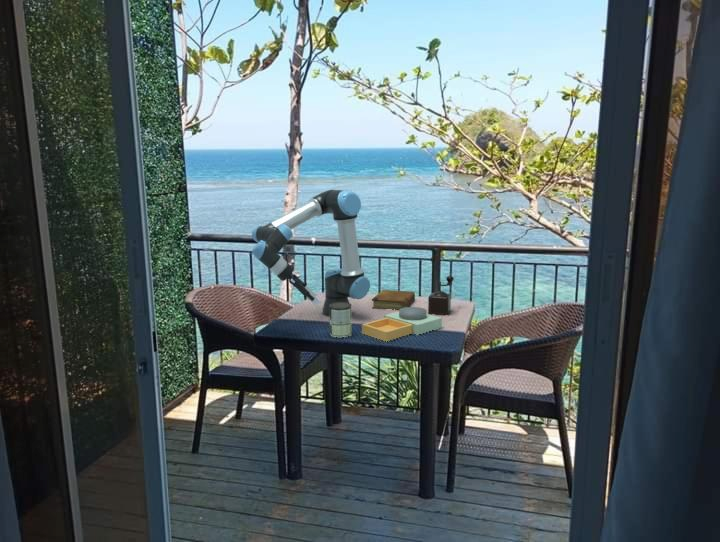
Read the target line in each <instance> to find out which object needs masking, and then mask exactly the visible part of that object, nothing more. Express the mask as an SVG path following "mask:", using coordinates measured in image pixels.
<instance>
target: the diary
mask: <svg viewBox="0 0 720 542" xmlns="http://www.w3.org/2000/svg"><path fill="white" fill-rule="evenodd" d="M415 294H416V293H415V292H414V291H410V290H392V289H390V290H389V289H382V290H380V292H378V293H377V294H376V295H375V296H374V297H373V298H372V299H371V301H372V305H373V306H372V309H373V310H374V309H375V310H386V309H392V310H391V311H399V310H400V309H401V308H405V307H411V305H412V304H413V303H414V301H415V299H416V295H415ZM394 309H395V310H394Z"/></svg>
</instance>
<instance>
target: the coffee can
mask: <svg viewBox="0 0 720 542" xmlns="http://www.w3.org/2000/svg"><path fill="white" fill-rule="evenodd" d="M329 314H330V316H329V336H330V335H331V337H332V338H336V337H337V339H343V338H342V337H344V338H348V336H349V337H351V336H352V335H353V334H352V332H353V331H352V330H353V329H352V303H351V302H349V303H347V302H335V303H331V304H330V305H329Z"/></svg>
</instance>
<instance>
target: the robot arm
mask: <svg viewBox="0 0 720 542" xmlns="http://www.w3.org/2000/svg"><path fill="white" fill-rule="evenodd" d="M361 208H362V202H361V198H360V197H359V195H358V194H357V193H356V192H355V191H352V190H347V189H328V190H325V191H323V192H321V193H319V194H317V195H315V196H312V197H311V198H309V199H308V201H307V202H306V203H304V204H303V205H301V206H298V207H297V208H295V209H293V210H292V211H290V212H288V213H286V214H284V215H282V216H280V217H278V218H276V219H274V220H273V221H271V222H269V223H267V224H265V225H263V226H262V225H259V226H255V227H254V228H253V229H252V231H251V237H252V239H253V240H254V241H255V242H256V244H255V245H253V248H252V249H251V254H252V255H253V257H255V258H256V259H257V260H258V261H259V262H261V263H262V264H263V266H265V267H266V268H267V269H269V272H270V273H273V274H274V275H276V277H277V278H278V279H279V280H281V281H282V282H284V281H287V280H288V283H290V284H291V285H292V286H293V287H295V289H296V290H297V291H299V292H300V293H301V294H302V295H303V298H304V299H308V301H310V302H311V303H312V304H313V305H314V306H315V307H318V306H319V305H320V304H321V301H320V300H319V298H317V296H318V294H317V293H316V292H315V291H313V289H311V288H310V287H309V286H308V283H307V282H304V281H303V280H302V279H300V278H299V277H298V276H297V275H296V273H293V272H294V270H295V269H294V267H293V266H292V265H291V264H289V263H288V262H287V260H285V259H284V258H283V257H282V256H281V255H279V253H280V251H281V250H282V249H283V248H284V247H285V246H286V244H287V243H288V242H290V239H292V237H293V234H294V233H293V231H292V230H293V229H295V228H297V227H299V226H300V225H302V224H304V223H305V222H307V221H309V220H311V219H313V218H315V217H321V216H323V215H327V214H332V217H333V221H334V222H335V223H336V226H337V229H338V230H337V231H338V239H339V241H338V242H339V249H340V255H341V263H342V268H334V269H329V270H326V271H325V272H324V273H325V274H324V287H325V288H324V290H325V292H324V293H325V295H324V296H325V297H324V298H325V299H324V302H323V306H322V310H321V311H322V314H323V315H325V316H329V317H330V314H329V305H330V304H331V303H335V302H347V303H350V300H349V298H351V299H355V300H361V299H363V298H365V297H366V296H367V294H368V293H369V291H370V288H371V282H370V280H369V278H368V277H366V276H365V270H364V269H363V268H362V267H361V263H360V254H359V245H358V238H357V228H356V220H357V219H358V214H359V213H360V210H361Z"/></svg>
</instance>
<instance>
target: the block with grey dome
mask: <svg viewBox="0 0 720 542" xmlns="http://www.w3.org/2000/svg"><path fill="white" fill-rule="evenodd" d="M384 318H391V319H394V320H398V321H401V322H404V323H408V324H411V325H412V333H413V334H412V335H414V334H416V335H415V336H420V335H419V334H421V335H424V334H427V333H430V332H429V331H431V332H433V331H432V330H434V331H436V329H437V330H440V329H442V328H443V318H442V317H440V316H438V315H432V314H428V313H427V309H426V308H423V307H420V306H409V307H405V308H401V309H400V310H398V311H394V312H391V313H387V314H383V319H384ZM439 328H440V329H439ZM426 332H427V333H426ZM423 333H424V334H423Z"/></svg>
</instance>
